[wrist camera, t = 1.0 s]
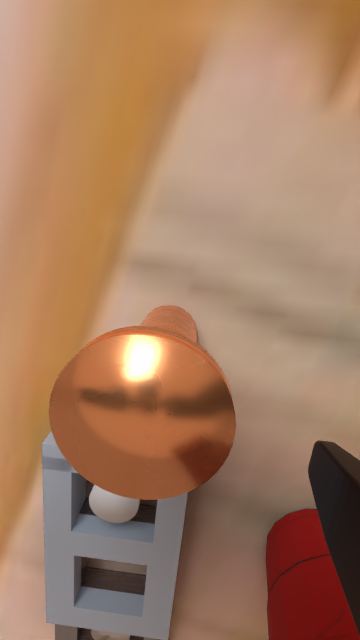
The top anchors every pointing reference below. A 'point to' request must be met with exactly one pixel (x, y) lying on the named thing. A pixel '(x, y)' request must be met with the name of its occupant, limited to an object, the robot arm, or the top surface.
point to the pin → (144, 409)
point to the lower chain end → (108, 585)
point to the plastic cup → (304, 583)
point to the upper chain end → (106, 553)
